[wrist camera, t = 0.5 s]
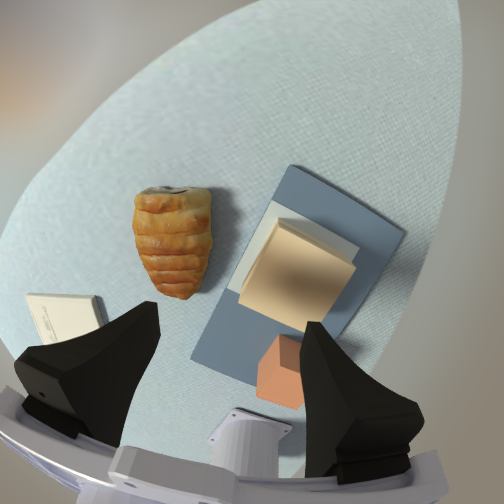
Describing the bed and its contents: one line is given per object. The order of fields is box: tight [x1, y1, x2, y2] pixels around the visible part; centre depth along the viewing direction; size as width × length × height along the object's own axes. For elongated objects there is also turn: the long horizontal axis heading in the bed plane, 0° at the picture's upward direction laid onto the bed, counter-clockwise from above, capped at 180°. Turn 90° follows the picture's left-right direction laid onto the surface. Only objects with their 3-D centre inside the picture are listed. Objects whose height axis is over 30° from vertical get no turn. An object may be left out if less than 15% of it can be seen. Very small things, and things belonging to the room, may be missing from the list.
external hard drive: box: [26, 293, 104, 345], centre depth 26 cm, size 2×8×12 cm
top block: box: [256, 334, 305, 410], centre depth 22 cm, size 4×4×4 cm
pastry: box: [132, 187, 213, 300], centre depth 21 cm, size 9×7×4 cm
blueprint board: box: [190, 165, 404, 387], centre depth 23 cm, size 20×11×1 cm, turn 153°
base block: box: [238, 218, 356, 333], centre depth 20 cm, size 6×6×4 cm
